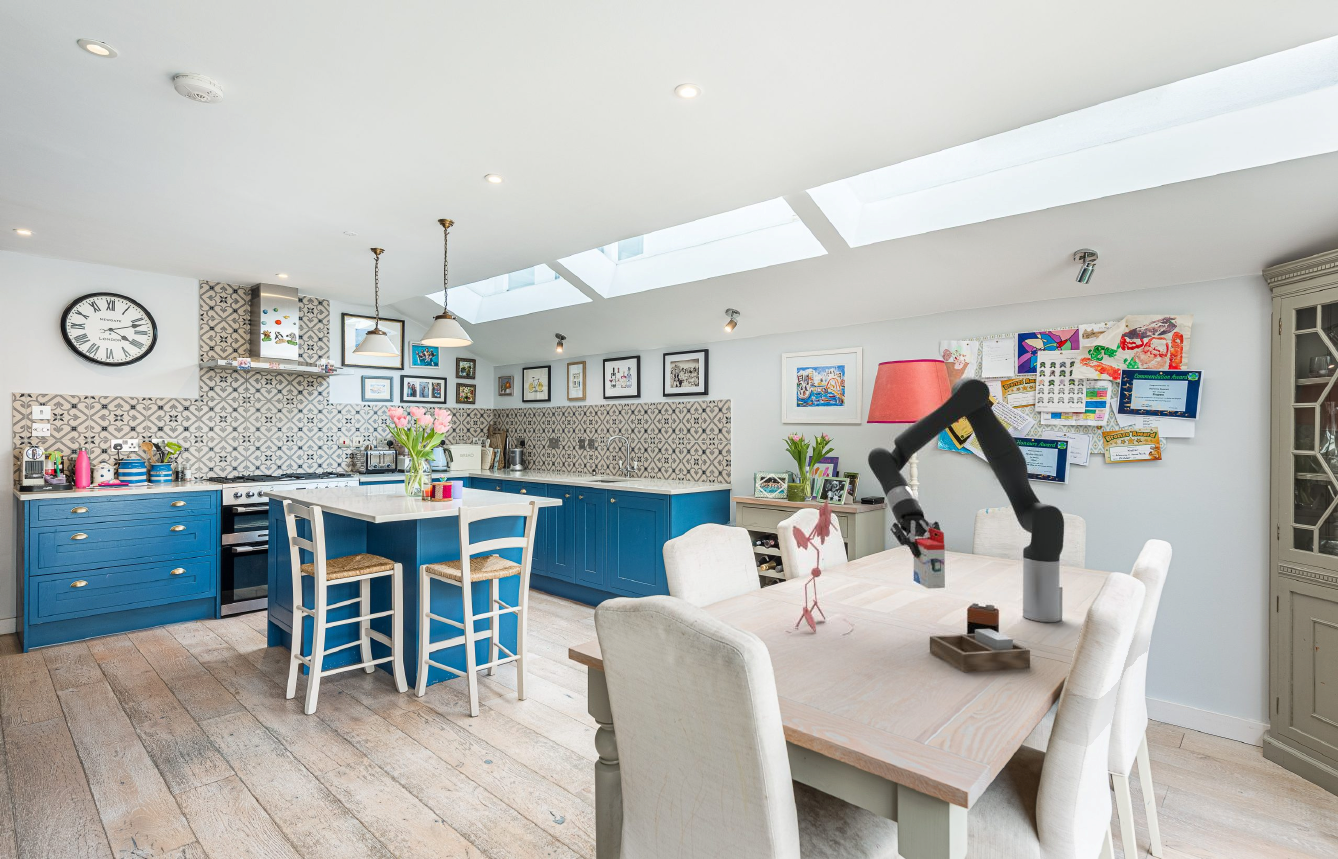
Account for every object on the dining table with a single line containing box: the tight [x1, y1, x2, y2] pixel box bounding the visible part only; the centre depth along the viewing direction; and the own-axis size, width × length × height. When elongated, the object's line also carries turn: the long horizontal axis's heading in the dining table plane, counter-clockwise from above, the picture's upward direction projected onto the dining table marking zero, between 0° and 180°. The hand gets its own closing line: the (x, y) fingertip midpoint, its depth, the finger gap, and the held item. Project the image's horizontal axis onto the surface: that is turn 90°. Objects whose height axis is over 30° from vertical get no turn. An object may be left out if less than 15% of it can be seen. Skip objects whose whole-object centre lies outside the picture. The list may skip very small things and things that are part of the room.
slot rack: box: [929, 633, 1031, 673], centre depth 153 cm, size 17×13×4 cm
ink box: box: [913, 527, 946, 589], centre depth 173 cm, size 8×5×15 cm, turn 5°
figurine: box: [785, 498, 854, 636], centre depth 178 cm, size 15×26×35 cm, turn 151°
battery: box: [966, 602, 1000, 634], centre depth 165 cm, size 4×7×10 cm, turn 55°
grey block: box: [975, 629, 1014, 651], centre depth 154 cm, size 4×8×6 cm, turn 11°
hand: (928, 555), depth 173 cm, fingers closed on ink box, 5 cm apart
